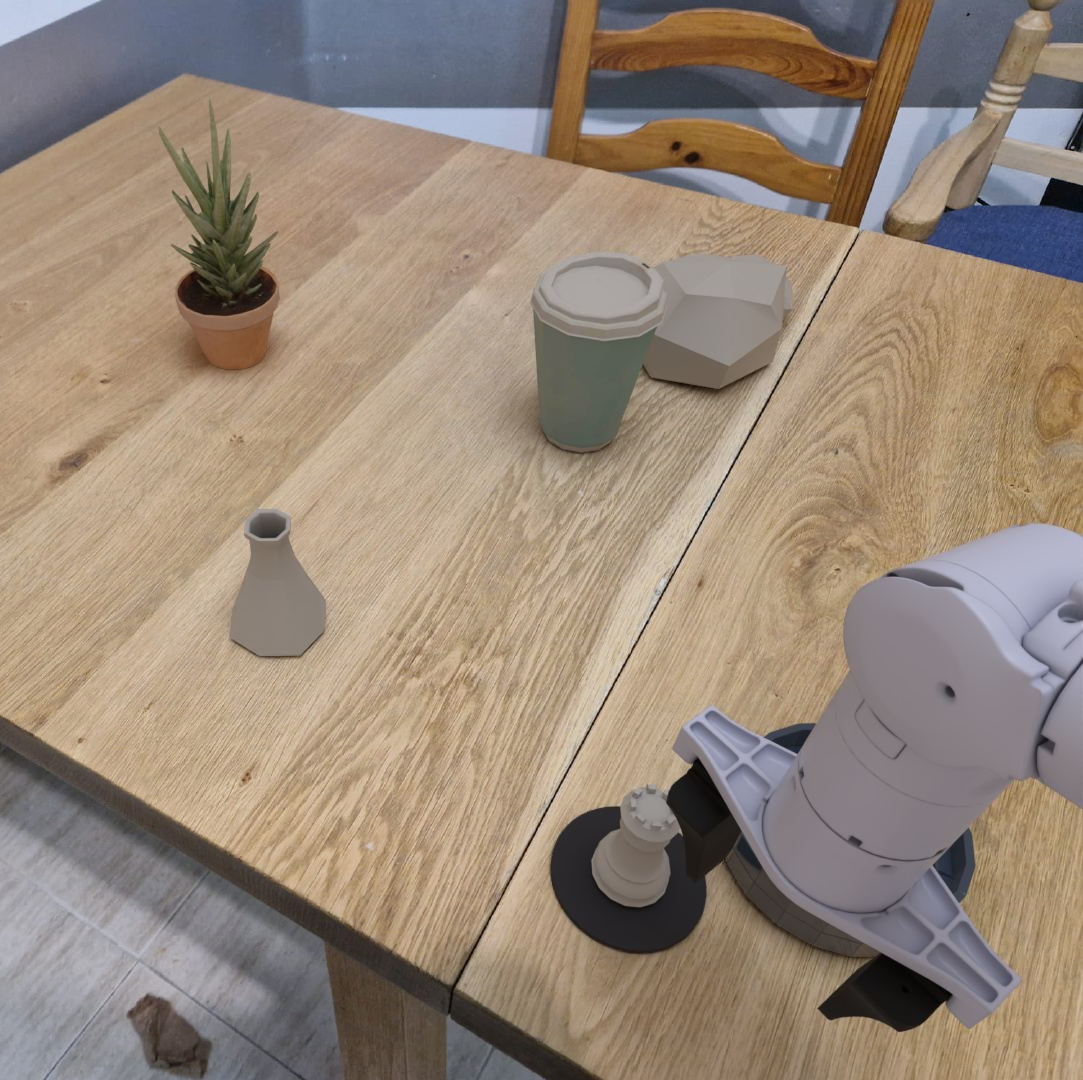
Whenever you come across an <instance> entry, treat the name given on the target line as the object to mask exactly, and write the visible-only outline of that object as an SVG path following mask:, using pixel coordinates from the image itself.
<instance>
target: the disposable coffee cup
mask: <svg viewBox="0 0 1083 1080" xmlns="http://www.w3.org/2000/svg"><path fill="white" fill-rule="evenodd" d="M654 267H655V266H653V265H651V264H650V263H648V262H647V261H645V260H643V259H640V258H638V257H637V256H634V255H631V254H630V253H627V252H614V251H599V250H596V251H591V252H586V253H581V254H576V255H571V256H566V258H564V259H562V260H561V261H558V262H557V263H556V264H554V265H552V266H551V267H549V268H547V269H546V270H545V271H544V273H542V274H541V275H540V276H539V277H538V279H537V282H536V284H535V286H534V289H533V291H532V292H531V293H532V294H531V298H530V301H529V304H530V305H531V307H532V313H533V315H532V316H533V331H534V332H533V333H534V348H535V349H534V350H535V367H536V379H537V380H536V382H537V383H536V384H537V397H538V398H537V399H538V417H539V424H540V426H541V427H542V431H543V433H544V435H545V437H546V439H547V441H548V442H550V443H551V444H553V445H555V446H556V447H558V448H560V449H561V450H565V451H570V452H576V453H581V454H582V453H589V452H594V451H600V450H602V449H603V448H605V446H607V445H609V444H610V443H612V441H613V439H615V437H616V436H617V434H618V431H619V429H620V426H621V423H622V420H623V418H624V415H625V412H626V410H627V407H628V404H629V402H630V399H631V396H632V394H633V391H634V388H635V387H636V383H637V382H638V378H639V376H640V373H641V371H642V368H643V366H644V365H643V363H644V360H645V357H646V355H647V352H648V350H649V347H650V344H651V342H652V339H653V336H654V334H655V331H656V329H657V326H658V325H660V324H662V323H663V319H664V315H665V311H666V308H667V304H666V301H667V294H666V293H665V291H664V290H663V289H662V288H663V283H664V280H663V279H662V277H661V276H660V275H659V274H658V272H657V271H656V270H655V268H654Z"/></svg>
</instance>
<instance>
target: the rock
mask: <svg viewBox="0 0 1083 1080" xmlns="http://www.w3.org/2000/svg"><path fill="white" fill-rule="evenodd" d="M653 267H654V268H655V270H656V271H657V272H658V274H659V275H660V276H661V277H662V279H663V280H664V283H663V288H662V289H663V290H664V291H665V293H666V294H667V301H666V304H667V308H666V311H665V315H664V319H663V323H662V324H660V325H658V326H657V329H656V331H655V334H654V336H653V339H652V342H651V344H650V347H649V350H648V352H647V355H646V357H645V360H644V363H643V365H642V366H643V367H644V369H645V370H646V372H647V373H648V375H649V377H650V378H653V379H657V380H664V381H670V382H675V383H682V384H686V385H694V386H699V387H703V388H704V387H705V388H711V389H717V390H719V389H722V388H724V387H726V386H728V385H729V384H732V383H733V382H735V381H737V380H739V379H742V378H744V377H745V376H748V375H749V374H751V373H753V372H755V371H757V370H759V369H761V368H764V367H765V366H767V365H769V364H772V363H773V362H774V359H775V355H776V351H777V348H778V344H779V341H780V337H781V333H782V330H783V321H784V319H786V318H787V316H789V314H790V313H791V312H792V311H793V310H794V297H793V283H792V281H791V280H790V279H789V278H788V277H787V269H788V266H787V265H783V264H777V263H774V262H773V261H771V260H769V259H768V258H766V257H764V256H763V255H760V254H759V253H753V254H741V255H732V256H730V257H729V256H722V255H717V254H710V253H703V252H697V253H693V254H689V255H685V256H681V257H678V258H674V259H669V260H667V261H663V262H661V263H659V264H657V265H655V266H653Z"/></svg>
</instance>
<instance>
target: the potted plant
mask: <svg viewBox="0 0 1083 1080" xmlns="http://www.w3.org/2000/svg"><path fill="white" fill-rule="evenodd" d="M208 113H209V128H210V142H211V145H210V146H211V164H212V177H211V172H210V166H209V163H208V161H207V160H205V163H206V179H207V187H208V191H207V189H206V188H205V186H204V184H203V182H202V180H201V178H200V176H199V174H198V172H197V171H196V168H195V167H194V166H193V164H192V162H191V160H190V158H189V156H188V154H187V153H186V151H185V148H184V147H182V146H181V147H180V150H181V154H182V158H181V156H180V154H179V153H178V152H177V151H176V149H175V148H174V146H173V145H172V143H171V142H170V141H169V139H168V138H167V136H166V135H165V133H164V131H163V129H162V128H161V127H160V126H159V125H158V124H157V125H156V126H157V130H158V134H159V137H160V139H161V141H162V143H163V145H164V147H165V150H166V152H167V153H168V155H169V157H170V158H171V160H172V163H173V165H174V166H175V168H176V170H177V172H178V173H179V175H180V176H181V178H182V180H183V182H184V183H185V184H186V186H187V188H188V189H189V191H190V192H191V194H192V195H193V197H194V198H195V200H196V202H197V203H198V206H199V208H200V210H201V212H199V213H197V211H195V209H194V207H193V205H192V202H191V201H190V199H189V198H188V196H187V195H186V194H185V195H184V198H185V201H186V202H185V201H184V200H183V199H182V198H181V197H180V196H179V195H178V194H177V192H175V191H174V190H173V189H171V194H172V196H173V198H174V200H175V201H176V203H177V205H178V206H179V207H180V209H181V211H182V212H183V214H184V216H186V218H187V219H188V221H189V222H190V224H191V225H192V226H193V228H194V230H195V231H196V233H198V235H199V237H200V238H201V240H202V242H203V243H202V242H201V241H200V240H199V239H198V238H197V237H196V236H195V235H194V234H190V236H191V238H192V240H193V241H194V243H195V245H194V244H190V243H189V244H188V248H189V249H190V250H191V252H188V251H186V250H184V249H182V248H181V247H179V246H177V245H175V244H173V243H171V244H170V247H172V248H173V249H174V250H175V251H176V252H177V253H178V254H180V255H181V256H183V257H184V258H185V259H187V260H189V264H190V266H191V268H193V269H192V270H190V271H188V272H187V273H185V274H184V275H183V276H181V278H179V280H178V282H177V283H176V285H175V288H174V298H175V301H176V306H177V309H178V312H179V315H180V316H181V317H182V318H183V320H184V321H186V322H188V325H189V327H190V329H191V330H192V332H193V334H194V336H195V338H196V341H197V342H198V345H199V346H200V348H201V350H202V352H203V353H204V356H205V358H206V360H207V361H208V362H209V363H210V364H211V365H212V366H214V367H217V368H220V369H224V370H245V369H248V368H251V367H254V366H255V365H258V364H259V363H260V362H261V361H263V359H264V357H265V356H266V351H267V346H268V342H269V337H270V331H271V327H272V323H273V319H274V314H275V313H274V312H275V311H276V310H277V308H278V305H279V302H280V298H281V296H280V285H279V281H278V279H277V276H276V275H275V273H273V271H271V269H269V268H267V267H265V266H263V265H264V264H263V263H264V260H263V259H264V257H265V256H266V254H267V252H268V250H269V249H270V248H271V245H272V244H271V243H270V242H272V241H273V239H274V238H276V237H277V235H278V233H279V230H276V231H275V232H274V233H272V234H271V235H270V236H269V237H267V238H266V239H265V240H263V241H262V242H261V243H260V244H258V245H257V246H255V248H253V249H252V250H250V251H249V252H248V253H247V251H248V250H249V248H250V246H251V244H252V241H253V236H252V235H251V233H252V232H253V230H254V227H255V225H256V223H257V220H258V215H257V214H256V213H255V211H256V209H257V208H256V207H257V204H258V203H259V198H260V191H257V192H256V193H255V194H254V196H253V197H252V199H251V200H250V201H249V203H248V204H247V200H248V195H249V191H250V186H251V181H252V180H251V179H252V177H251V176H252V174H251V171H249V172H248V173H247V174H246V176H245V179H244V182H243V183H242V186H241V188H240V189H239V192H238V193H237V194H236V196H235V198H234V199H231V182H232V181H231V180H232V144H231V143H232V142H231V141H232V139H231V134H230V133H231V132H230V128H227V129H226V133H225V138H224V145H223V151H222V158H221V159H220V149H219V137H218V129H217V124H216V118H215V114H214V107H213V104H212V100H211V98H208ZM182 159H183V160H182ZM246 204H247V206H246ZM250 235H251V236H250ZM190 261H191V262H190Z"/></svg>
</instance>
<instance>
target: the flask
mask: <svg viewBox="0 0 1083 1080" xmlns="http://www.w3.org/2000/svg"><path fill="white" fill-rule="evenodd" d="M291 525H292V516H291V515H289V514H287V513H286V512H284V511H282V510H280V509H278V508H257V509H256V510H255V511H253V512H252V513H251V514H250V515H249V516H248V517H247V518H245V519H244V528H243V529H244V530H243V536H244V538H245V539H246V540H248V542H249V549H250V555H249V556H250V557H249V561H248V564H247V568H246V570H245V573H244V576H243V580H242V583H241V584H240V588H239V590H238V591H237V595H236V597H235V600H234V602H233V606H232V611H231V612H232V613H231V622H230V628H229V638H230V639H231V640H233V641H234V642H235V643H238V644H239V645H241V646H242V647H244V648H246V649H247V650H249V651H251V652H252V653H254V654H255V655H257V656H259V657H278V656H279V657H283V656H285V657H287V656H289V657H290V656H291V657H293V656H296V657H298V656H301V655H302V654H303V653H304V652H305V651H306V650H307V649H308V648H309V647H310V646H311V645H312V644H313V643H314V642H315V641H316V640H317V639H318V638H319V637H320V636H321V635H322V634H323V633H324V632H325V631H326V607H327V606H326V602H327V601H326V598H325V596H324V595H323V594H322V593H321V591H320V590H319V588H318V587H317V585H315V583H314V581H313V580H312V579H311V577H309V575H308V573H307V571H306V569H304V567H303V566H302V564H301V563H300V561H299V560H298V559H299V558H297V557H296V554H295V552H294V548H293V546H292V544H291V541H290V537H289V536H290V535H291V529H292V526H291Z"/></svg>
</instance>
